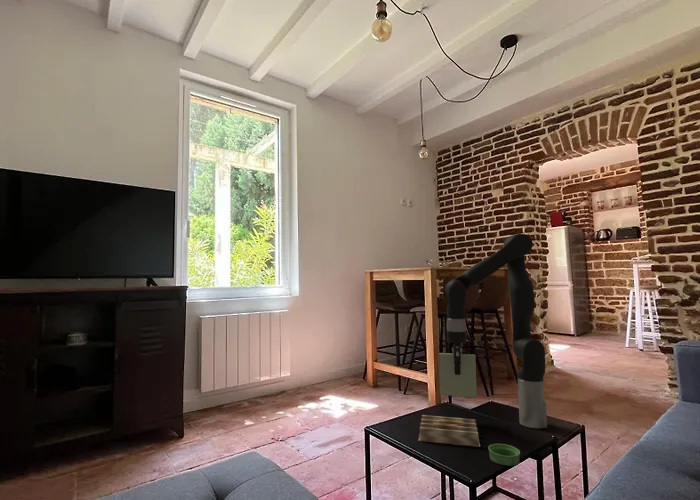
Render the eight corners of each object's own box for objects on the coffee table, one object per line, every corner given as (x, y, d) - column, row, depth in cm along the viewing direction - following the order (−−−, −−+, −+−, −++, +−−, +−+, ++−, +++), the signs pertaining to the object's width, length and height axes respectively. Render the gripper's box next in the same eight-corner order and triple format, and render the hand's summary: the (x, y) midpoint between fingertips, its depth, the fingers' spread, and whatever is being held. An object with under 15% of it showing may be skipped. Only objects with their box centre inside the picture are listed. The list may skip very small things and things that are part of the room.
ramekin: (525, 473, 108) (524, 457, 108) (492, 471, 109) (492, 455, 109) (515, 459, 117) (514, 444, 117) (485, 457, 118) (485, 442, 118)
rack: (477, 435, 135) (476, 419, 136) (480, 451, 122) (480, 433, 122) (420, 430, 140) (420, 414, 141) (418, 445, 127) (418, 428, 127)
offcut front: (457, 439, 127) (457, 424, 128) (457, 442, 125) (457, 426, 126) (433, 437, 129) (433, 422, 130) (433, 439, 127) (433, 424, 128)
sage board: (476, 395, 148) (475, 354, 149) (476, 397, 146) (475, 355, 147) (439, 393, 151) (439, 352, 153) (439, 394, 149) (439, 353, 151)
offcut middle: (463, 435, 131) (462, 420, 131) (463, 437, 129) (463, 422, 130) (439, 433, 133) (439, 418, 133) (439, 435, 131) (439, 420, 132)
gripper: (467, 332, 143) (468, 378, 142) (465, 328, 157) (466, 370, 155) (446, 331, 145) (447, 377, 143) (446, 327, 159) (447, 369, 157)
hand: (457, 373), depth 149 cm, fingers closed on sage board, 2 cm apart
